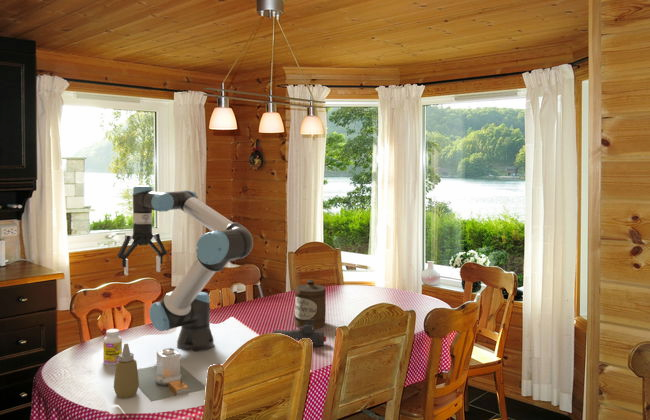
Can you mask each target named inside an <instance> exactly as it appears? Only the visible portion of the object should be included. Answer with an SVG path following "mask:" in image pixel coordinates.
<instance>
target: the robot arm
mask: <svg viewBox="0 0 650 420" xmlns="http://www.w3.org/2000/svg"><path fill="white" fill-rule="evenodd" d="M132 190H133V191H132V192H133V193H132V211H133V212H132V222H133V224H132V235H129V234H126V235H125V236H124V241H123V243H122V245H121V247H120V249H119V251H118V253H117V255H116V257H117V258H118V259H121V266H122V268H123V270H124V271H123V273H124V276H129V259H128V257H129V256H130V254H131V253H133V251H134V250H135V249H136V248H137V246H148V245H149V247H151V249H153V251H154V252H155V253H156V254H157V255H156V256H155V260H156V263H155V264H156V267H155V269H156V270H155V271H156V272H157V273H161V265H162V264H163V257H164V256H165V255H166V256H167V254H168V253H167V250H166V247H165V246H164V244H163V242H162V241H161V237H160V236H161V235H160V233H158V232H155V233H153V223H152V222H153V211H157V212H168V211H173V210H181V211H182V212H184V213H186V214H187V215H188V216H190V217H191V218H193V219H194V220H195V221H197V222H199V224H201V225H203V226H204V227H205V228H207V229H208V230H209V232H206V233H204V234H202V235H201V236H200V237H199V238H198V240H197V242H196V247H197V248H195V251H196V260H195V261H194V262H193V263H192V265H191V266H190V268H189V269H188V270H187V272H186V273H185V275H184V276H183V277H182V279H180V281H179V283H178V284H177V285H176V287H175V288H174V289H173V290H172V291H168V292H167V293H166V294H164V297H163V298H161V300H160V301H155V302H154V303H152V304H151V305H150V307H149V311H148V313H149V319H150V323H151V325H152V326H153V327H154V328H155V330H157V331H159V332H164V331H166V332H168V331H169V330H173V329H175V328H179V327H180V331H179V334H178V338H177V341H176V347H177V348H178V349H179V350H180V349H182V350H186V351H193V352H199V351H207V350H209V349H211V348H213V346H215V345H214V341H215V340H214V336H213V334H212V330H211V327H210V324H211V323H210V321H211V319H210V317H211V316H210V314H211V313H210V312H211V301H210V300H211V299H210V298H211V297H210V295H209V293H207V292H205V291H202V290H203V289H204V288H205V286H206V285H207V284H208V283H209V281H210V280H211V278H212V277H213V276H214V275H215V273H219V272H221V271H222V270H224V268H225V267H226V266H227V265H228V263H230V262H231V261H235V260H241V259H244V258H245V257H247V256H248V255H249V254H250V253H251V252H252V249H253V247H254V238H253V236H252V233H251V232H250V231H249V230H248V229H247V227H245V226H243V225H242V224H240V223H239V222H233V221H231V220H230V219H228V218H227V217H225V216H224V215H222V214H221V213H219V212H218V211H216V210H215V209H213V208H212V207H210V206H208V205H207V204H206V203H204V202H202V201H201V200H199V197H198V195H197V193H196V192H195V191H193V190H186V189H185V190H179V191H178V190H177V191H176V190H175V191H153V188H152V185H144V184H143V185H135V186H133V189H132ZM152 239H155V241H156V243H157V245H158V247H159V248H157V246H156V244H155V243H154V242H153V241H152ZM132 240H133V241H132ZM130 241H132V242H131V244H130V246H129V243H130ZM159 249H160V250H159Z"/></svg>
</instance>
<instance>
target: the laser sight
mask: <svg viewBox="0 0 650 420" xmlns="http://www.w3.org/2000/svg"><path fill="white" fill-rule="evenodd" d="M298 328H299V329H291V330H284V329H283V330H282V329H280V330H279V329H274V330H273V334H274V333H282V334H285V335H288V336H290V337H292V338H294V339H295V340H297V341H299V340H300V339H302V338H310V339H311V340H312V342H313V346H312V347H318V346H321V347H322V346H324V344H325V342H327V336H326V335H325V332H324V331H319V330H315V329H314V320H312V319H305V325H303V326H300V327H298Z"/></svg>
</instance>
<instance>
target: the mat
mask: <svg viewBox="0 0 650 420" xmlns="http://www.w3.org/2000/svg"><path fill="white" fill-rule="evenodd" d="M137 371H138V379H139V386H138V389H139V390H140V391H141V392H142V393H143V394H144V395H145V396H146V397H147V399H148V400H149V401H150V402H156V401H159V400H163V399H164V400H165V399H168V398H174V397H177V396H176V395H175V394H174V393H173V392H172V391H171V390H170V389H169V388H168V387H163V386H158V385H156V384H155V375H156V374H157V365H154V366H148V367H144V368H137ZM180 372H181V381H182V382H183V383H184V384H185V385H187V386H188V393H187V394H190V393H191V394H192V393H195V392H200V391H205V390H206V389H205V386H206V385H205V384H204V383H202V382H201V381H200V380H199V379H197V377H195V376H194V375H193V373H191V372H189V371H188V370H187V369H186V368H184V367H183V366H182V365H181V364H180ZM182 395H184V394H182ZM182 395H181V396H182Z"/></svg>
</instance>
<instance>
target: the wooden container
mask: <svg viewBox="0 0 650 420" xmlns="http://www.w3.org/2000/svg"><path fill="white" fill-rule="evenodd" d="M306 283H307V284H299V285H297V286H296V287H295V288H294V291H295V292H294V294H295V298H294V299H295V300H294V302H295V303H294V325H295V326H296V327H298V328H300V326H303V325H305V319H312V320H314V329H313V330H315V329H320V328H323V327H324V326H326V311H327V309H326V308H327V307H326V287H325V286H323V285H320V284H315V281H314V280H313V279H308V280H307V281H306Z"/></svg>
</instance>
